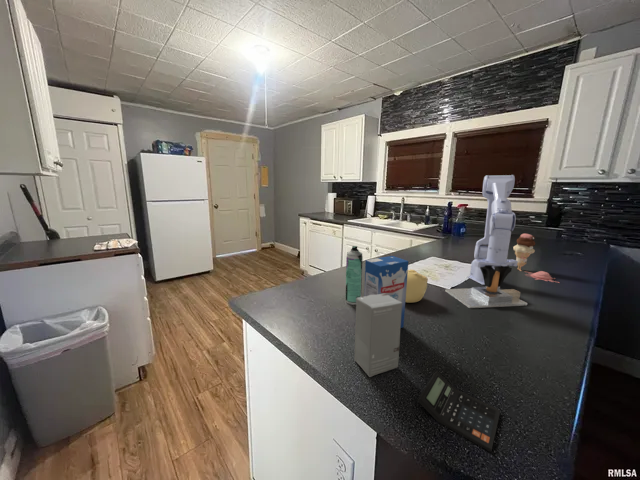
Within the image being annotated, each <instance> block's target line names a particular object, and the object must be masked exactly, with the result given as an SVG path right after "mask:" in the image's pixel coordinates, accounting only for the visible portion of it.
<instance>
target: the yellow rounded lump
mask: <svg viewBox="0 0 640 480" xmlns="http://www.w3.org/2000/svg"><path fill="white" fill-rule="evenodd" d="M428 281H429V279H428V277H427V276H425V275H423V274H421V273H419V272H417V270H415V269H411V268H410V269H408V274H407V287H406V300H405V303H408V304H409V303H417V302H419V301H421V300H422V299H423V298H424V296H425V293H426V291H427V288H428Z"/></svg>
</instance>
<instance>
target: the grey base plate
mask: <svg viewBox="0 0 640 480" xmlns="http://www.w3.org/2000/svg"><path fill="white" fill-rule="evenodd" d="M485 287H487V286H485ZM498 289H500V290H501V286H500V287H498ZM471 291H472V287H471V288H465V287H464V288H446V289H445V292H446V293H447V294H448V295H450V296H451V297H452V298H454V299H456V300H457V301H459V302H460V303H462V304H463V305H464V306H466V307H467V308H469V309H479V308H480V309H481V308H483V309H485V308H499V307H502V308H503V307H519V306H520V307H521V306H527V305H528V302H526V301H524V300H522V299H520V298H519V299H512V303H501V304H487V303H486V302H484V301H482V300H481V299H479V298H478V297H476V296H474V295H473V294H471Z"/></svg>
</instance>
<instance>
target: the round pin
mask: <svg viewBox="0 0 640 480" xmlns="http://www.w3.org/2000/svg"><path fill="white" fill-rule="evenodd" d="M499 276H500V272H498V271H496V272H495V274H494V276H493V279H492V284H491V287H487V288H486V290H487V291H489V292H497V289H498V282H499Z"/></svg>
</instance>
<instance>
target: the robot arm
mask: <svg viewBox="0 0 640 480" xmlns="http://www.w3.org/2000/svg"><path fill="white" fill-rule="evenodd" d="M515 181H516V178H515V174H511V175H510V174H509V175H507V174H505V175H504V174H503V175H497V174H496V175H489V174H488V175H485V176H484V177H483V181H482V193H481V194H482V197H483V198H486V201H487V207H486V208H487V209H486V218H485V227H484V237H482V238H480V239H479V240H477V241H476V243H475V246H474V253H473V254H474V256H473V257H474V259H473V260H472V261H471V262H470V263H471V264H470V271H469V275H468V276H467V278H469V279H470V280H473V281H474V282H476V283H478V284H480V285H482V286H484V287H486V286H487V287H491V284H492V279H493V276H494V274H495V272H496V271H498V272H500V276H499V282H498V287H500V288H501V287H502V285H503V283H504V281H505V279H506V277H507V276H508V275H509V274H510V273H511V272H512V267H518V266H517V263H518V261H516V259H512V258H511V259H510V258H509V259H508V256H509V248H510V243H511V235H512V232H513V231H514V229H515V226H516V213H515V212H514V211H513V210H512V203H511V200H510V199H508V197H510V195H511V193H512V191H513V190H514V187H515Z"/></svg>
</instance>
